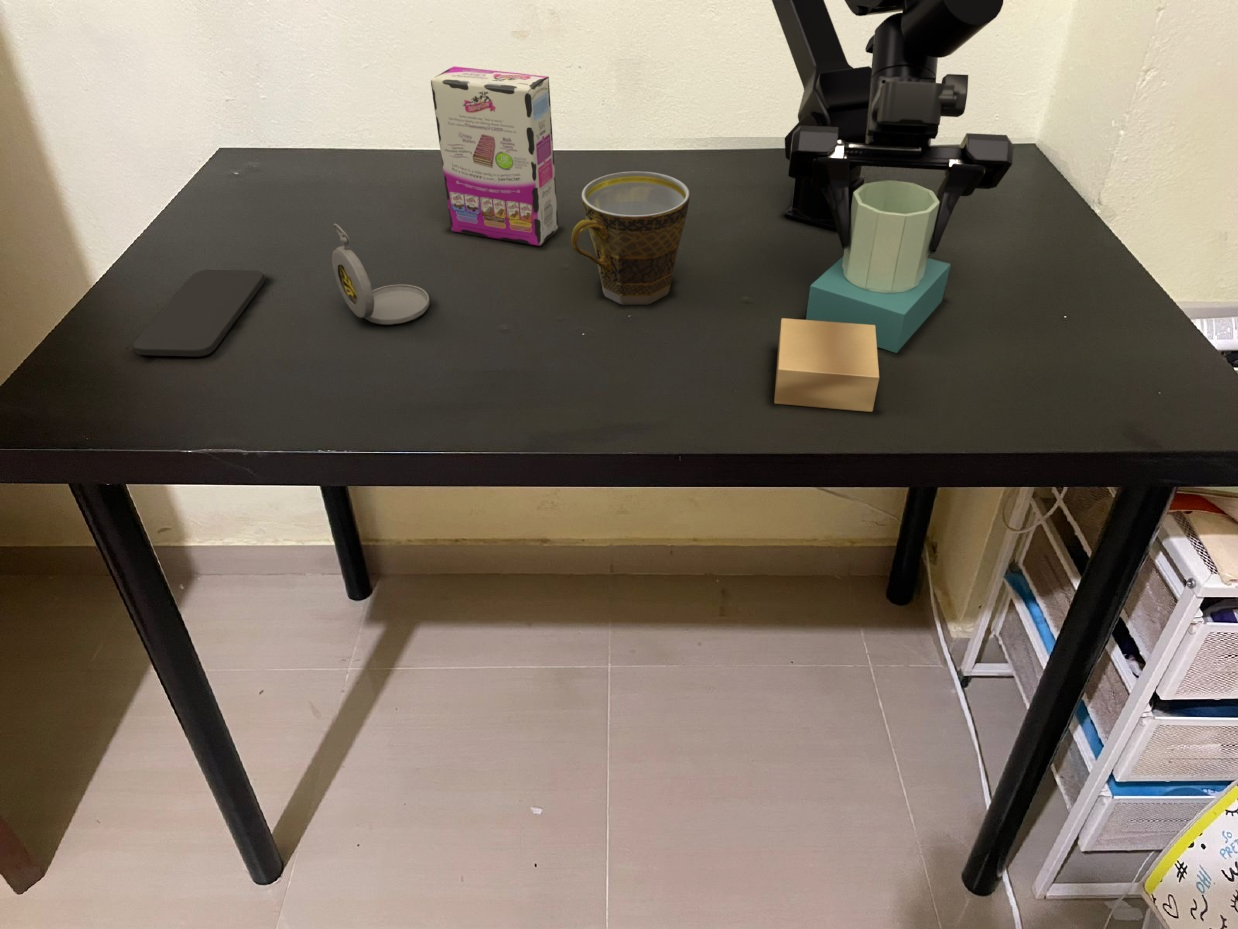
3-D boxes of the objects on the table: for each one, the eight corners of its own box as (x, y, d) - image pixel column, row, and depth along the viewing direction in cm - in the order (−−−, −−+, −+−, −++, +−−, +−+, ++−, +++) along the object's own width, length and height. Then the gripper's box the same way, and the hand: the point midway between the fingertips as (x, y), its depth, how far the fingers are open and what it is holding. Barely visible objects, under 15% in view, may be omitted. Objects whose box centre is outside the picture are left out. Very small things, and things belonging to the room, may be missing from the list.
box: (805, 323, 88) (810, 285, 85) (855, 275, 95) (861, 239, 92) (896, 353, 84) (904, 314, 81) (942, 301, 91) (950, 263, 88)
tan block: (773, 404, 78) (778, 368, 76) (777, 351, 84) (781, 317, 82) (872, 412, 77) (879, 377, 75) (869, 358, 83) (875, 324, 81)
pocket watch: (442, 298, 92) (427, 202, 86) (399, 343, 86) (380, 242, 80) (369, 286, 94) (349, 191, 88) (322, 328, 88) (297, 229, 82)
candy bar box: (560, 228, 104) (552, 74, 93) (540, 248, 100) (529, 90, 90) (471, 213, 107) (453, 62, 96) (448, 231, 103) (427, 77, 93)
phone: (267, 270, 95) (208, 350, 84) (269, 277, 96) (210, 358, 84) (196, 269, 96) (127, 348, 84) (198, 276, 96) (130, 356, 85)
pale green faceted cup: (829, 279, 86) (840, 202, 81) (863, 248, 90) (875, 173, 86) (902, 302, 83) (918, 222, 78) (933, 268, 87) (950, 191, 82)
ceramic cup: (635, 255, 99) (635, 162, 92) (707, 288, 93) (712, 191, 87) (541, 300, 92) (534, 203, 85) (613, 339, 86) (611, 238, 80)
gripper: (804, 28, 78) (786, 211, 77) (1039, 36, 76) (1025, 225, 74) (795, 93, 89) (780, 254, 88) (1001, 102, 87) (988, 267, 85)
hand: (888, 250), depth 84 cm, fingers closed on pale green faceted cup, 7 cm apart
